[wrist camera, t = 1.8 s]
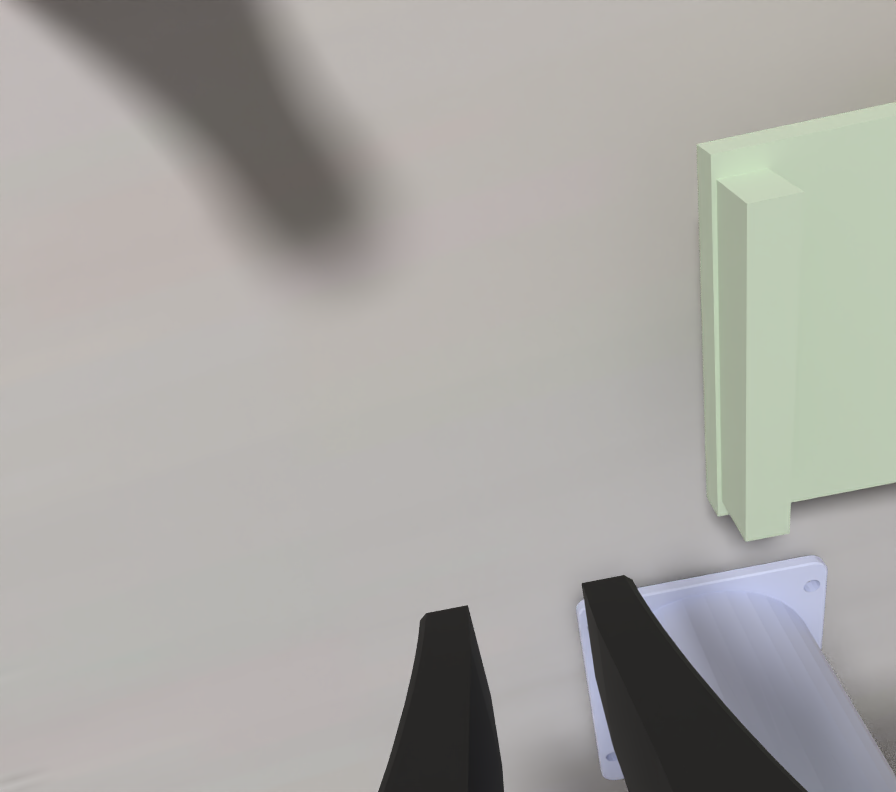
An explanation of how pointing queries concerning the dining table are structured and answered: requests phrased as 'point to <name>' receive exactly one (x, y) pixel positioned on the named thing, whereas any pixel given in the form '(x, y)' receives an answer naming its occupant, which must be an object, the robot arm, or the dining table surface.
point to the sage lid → (798, 314)
